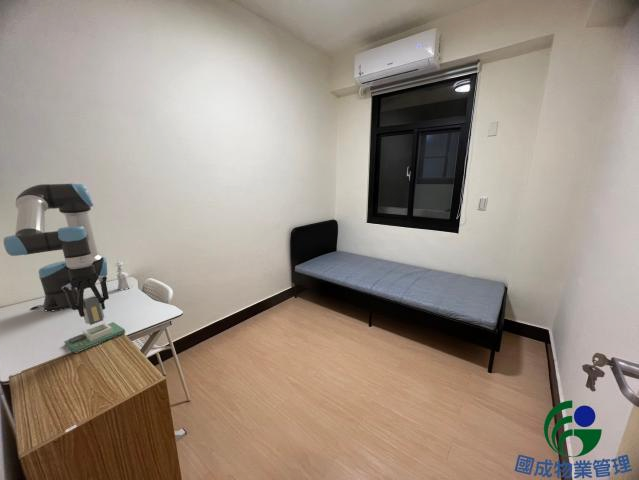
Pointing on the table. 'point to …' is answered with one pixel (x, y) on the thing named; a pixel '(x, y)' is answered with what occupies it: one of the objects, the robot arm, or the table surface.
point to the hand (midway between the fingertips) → (94, 319)
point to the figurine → (122, 277)
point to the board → (94, 336)
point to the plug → (93, 309)
